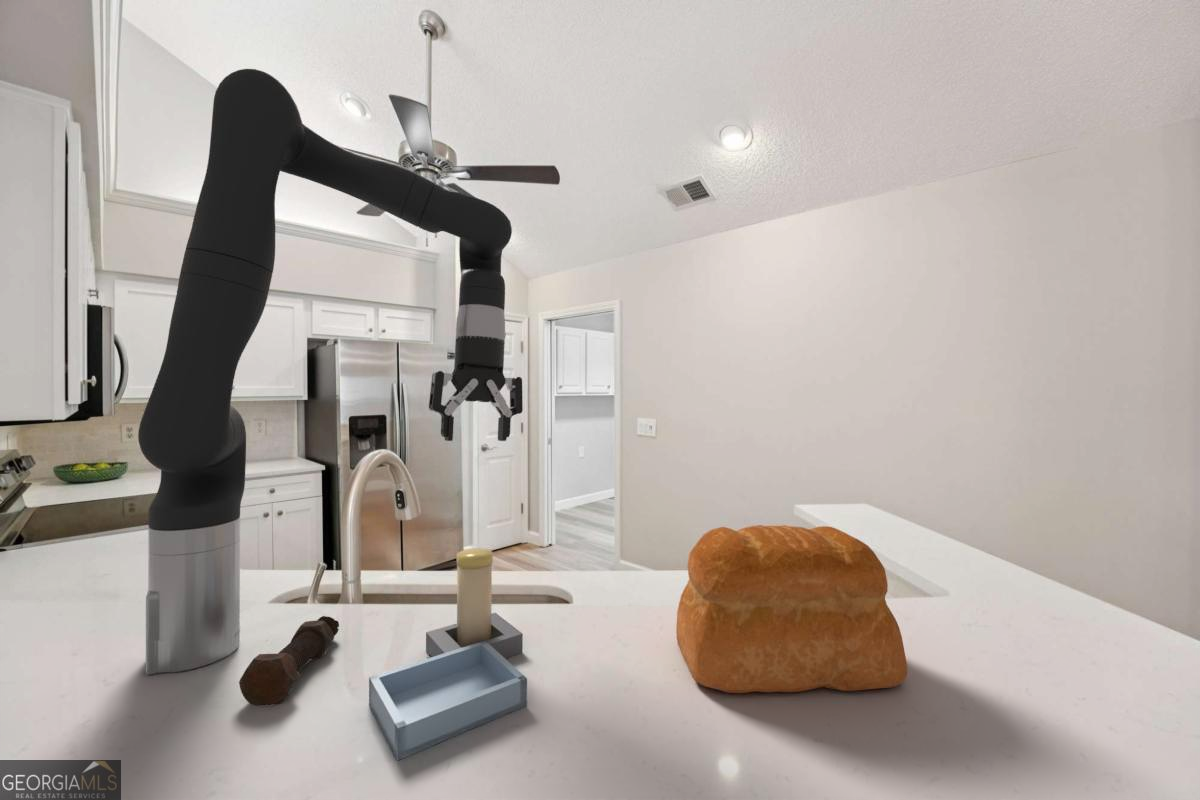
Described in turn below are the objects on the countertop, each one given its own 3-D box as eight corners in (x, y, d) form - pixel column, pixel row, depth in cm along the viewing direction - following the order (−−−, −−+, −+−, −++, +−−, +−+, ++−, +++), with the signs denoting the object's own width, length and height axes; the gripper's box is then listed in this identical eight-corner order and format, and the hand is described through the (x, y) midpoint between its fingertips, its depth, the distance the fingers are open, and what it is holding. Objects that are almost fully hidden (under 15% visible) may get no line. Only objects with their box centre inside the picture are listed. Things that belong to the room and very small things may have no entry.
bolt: (333, 652, 69) (270, 718, 54) (301, 635, 69) (228, 696, 54) (356, 615, 69) (299, 670, 55) (323, 598, 69) (258, 648, 54)
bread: (922, 696, 57) (924, 546, 57) (697, 702, 55) (698, 548, 55) (846, 632, 73) (848, 514, 73) (669, 635, 71) (670, 515, 71)
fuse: (464, 664, 63) (465, 561, 63) (450, 650, 66) (451, 552, 66) (497, 653, 65) (498, 554, 65) (482, 639, 69) (483, 546, 69)
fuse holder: (448, 678, 60) (448, 657, 60) (425, 651, 66) (426, 632, 66) (522, 652, 66) (522, 633, 66) (495, 629, 72) (495, 612, 72)
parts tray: (397, 760, 46) (397, 728, 46) (369, 704, 54) (369, 676, 54) (526, 705, 54) (526, 678, 54) (484, 664, 63) (484, 640, 63)
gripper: (514, 344, 85) (509, 439, 85) (428, 335, 78) (423, 439, 77) (531, 340, 79) (527, 442, 78) (440, 329, 72) (435, 442, 71)
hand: (475, 440), depth 78 cm, fingers open, 8 cm apart
